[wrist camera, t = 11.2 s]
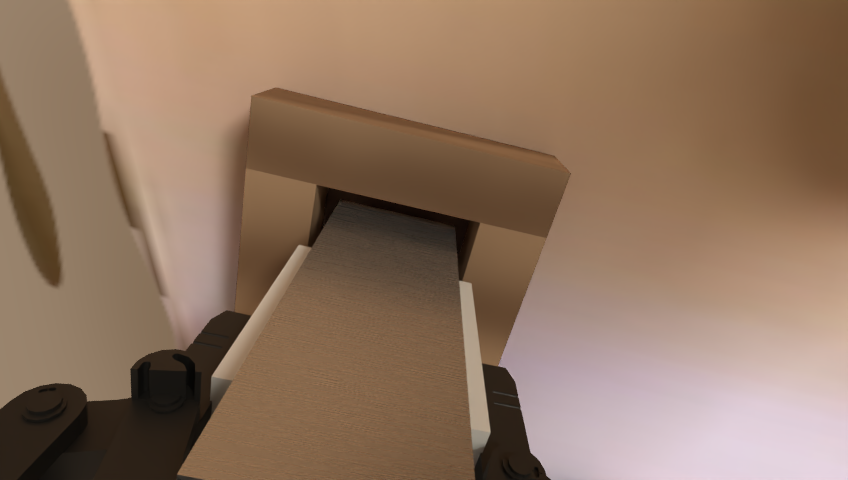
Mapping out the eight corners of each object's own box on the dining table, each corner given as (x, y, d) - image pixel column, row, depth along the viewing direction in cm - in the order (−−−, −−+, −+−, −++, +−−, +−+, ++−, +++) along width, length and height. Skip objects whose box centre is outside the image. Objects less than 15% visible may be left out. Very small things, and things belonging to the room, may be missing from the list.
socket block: (275, 87, 17) (251, 95, 15) (554, 156, 18) (570, 173, 16) (242, 430, 25) (222, 471, 22) (441, 469, 25) (442, 512, 23)
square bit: (340, 199, 18) (176, 474, 7) (454, 226, 18) (478, 530, 7) (323, 298, 19) (173, 641, 8) (427, 320, 20) (412, 680, 9)
